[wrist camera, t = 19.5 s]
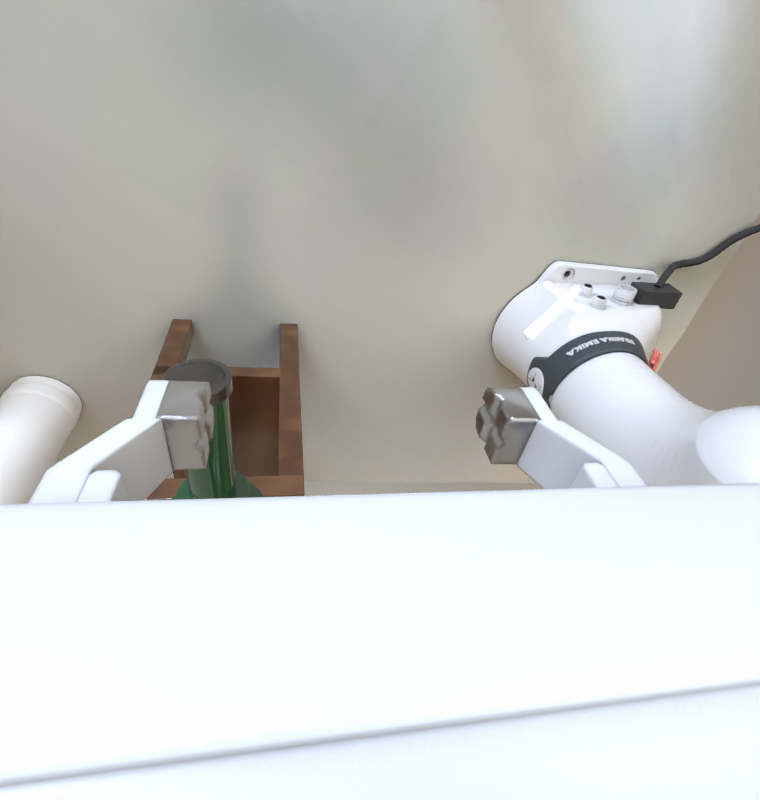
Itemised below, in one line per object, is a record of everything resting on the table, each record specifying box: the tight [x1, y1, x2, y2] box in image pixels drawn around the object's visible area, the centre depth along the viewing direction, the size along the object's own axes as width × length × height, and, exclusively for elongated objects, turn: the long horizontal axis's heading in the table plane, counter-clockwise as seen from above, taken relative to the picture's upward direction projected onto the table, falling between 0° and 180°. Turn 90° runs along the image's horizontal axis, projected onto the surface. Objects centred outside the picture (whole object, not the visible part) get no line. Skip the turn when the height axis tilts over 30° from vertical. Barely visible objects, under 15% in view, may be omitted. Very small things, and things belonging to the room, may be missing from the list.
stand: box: [145, 319, 304, 500], centre depth 49 cm, size 14×20×27 cm
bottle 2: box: [163, 359, 263, 500], centre depth 31 cm, size 6×26×6 cm, turn 171°
